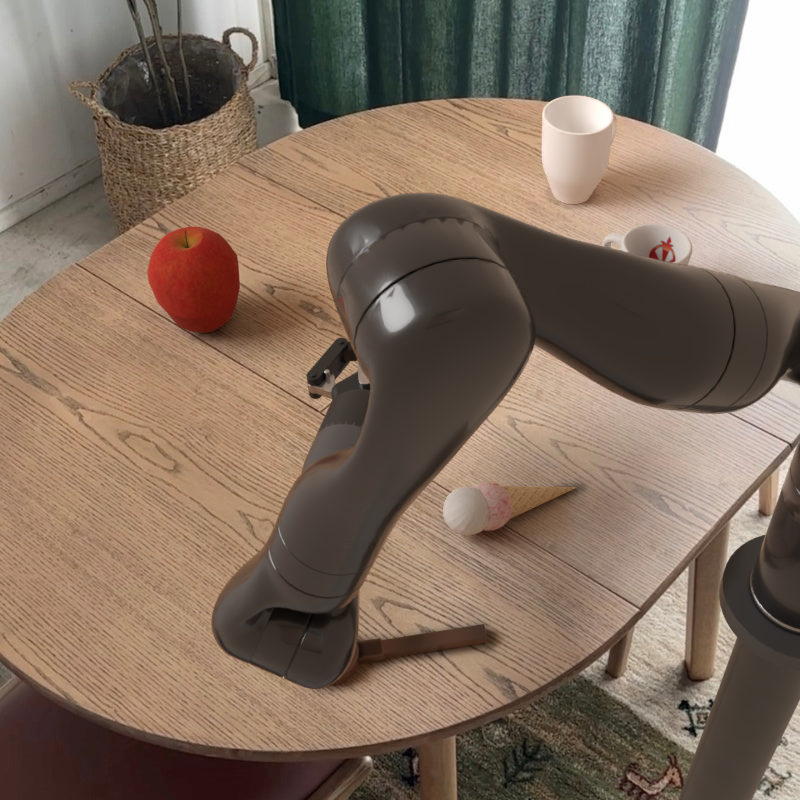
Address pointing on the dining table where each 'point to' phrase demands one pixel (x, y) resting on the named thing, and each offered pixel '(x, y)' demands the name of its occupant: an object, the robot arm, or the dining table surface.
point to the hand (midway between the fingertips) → (410, 325)
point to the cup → (654, 243)
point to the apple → (195, 278)
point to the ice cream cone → (492, 505)
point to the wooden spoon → (412, 646)
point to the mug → (576, 146)
